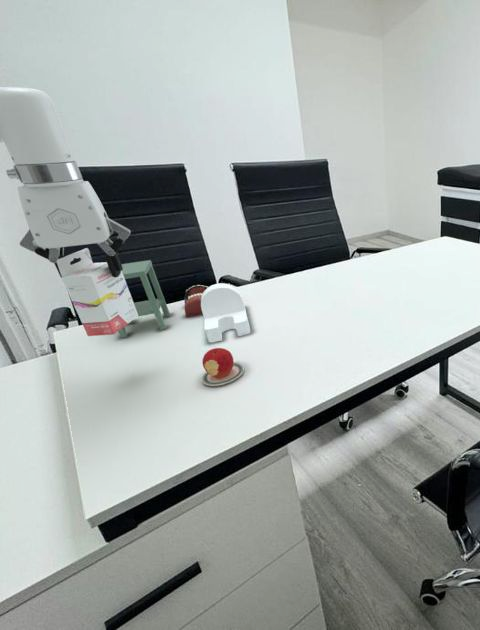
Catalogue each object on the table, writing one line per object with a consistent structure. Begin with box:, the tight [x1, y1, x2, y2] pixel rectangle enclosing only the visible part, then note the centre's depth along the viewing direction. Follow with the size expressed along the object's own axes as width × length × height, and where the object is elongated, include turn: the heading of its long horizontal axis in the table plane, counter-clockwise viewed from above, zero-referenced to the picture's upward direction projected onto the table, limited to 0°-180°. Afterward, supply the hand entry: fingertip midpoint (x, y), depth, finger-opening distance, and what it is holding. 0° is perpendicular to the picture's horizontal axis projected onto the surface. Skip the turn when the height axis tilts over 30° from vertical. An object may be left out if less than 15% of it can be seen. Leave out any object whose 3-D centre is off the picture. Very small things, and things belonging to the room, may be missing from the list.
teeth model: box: [183, 284, 209, 318], centre depth 110 cm, size 8×6×12 cm
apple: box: [201, 347, 245, 387], centre depth 78 cm, size 8×8×6 cm
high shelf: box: [117, 259, 171, 339], centre depth 99 cm, size 10×10×16 cm
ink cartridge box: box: [57, 247, 138, 337], centre depth 72 cm, size 9×5×15 cm, turn 6°
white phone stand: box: [201, 282, 252, 344], centre depth 99 cm, size 10×18×11 cm, turn 27°
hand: (94, 277), depth 71 cm, fingers closed on ink cartridge box, 6 cm apart
